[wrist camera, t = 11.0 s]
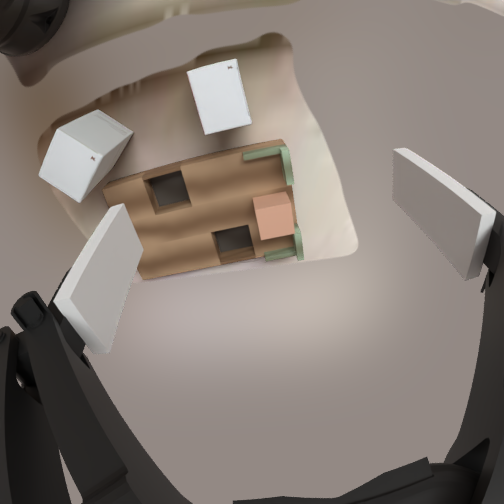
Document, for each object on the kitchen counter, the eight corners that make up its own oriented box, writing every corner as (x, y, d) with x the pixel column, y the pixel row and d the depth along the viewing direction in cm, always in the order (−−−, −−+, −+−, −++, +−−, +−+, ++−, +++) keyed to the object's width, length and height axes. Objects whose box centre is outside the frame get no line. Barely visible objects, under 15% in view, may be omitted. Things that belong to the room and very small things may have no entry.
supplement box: (97, 107, 37) (57, 125, 27) (135, 132, 40) (104, 157, 30) (76, 146, 40) (36, 175, 30) (112, 170, 43) (79, 205, 33)
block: (252, 197, 45) (254, 209, 42) (285, 191, 45) (290, 202, 41) (258, 226, 48) (261, 240, 44) (290, 220, 47) (295, 233, 44)
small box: (195, 69, 36) (184, 70, 28) (234, 59, 36) (236, 57, 27) (209, 120, 41) (203, 136, 32) (247, 111, 40) (252, 124, 32)
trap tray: (108, 182, 44) (94, 198, 39) (281, 138, 43) (289, 149, 38) (146, 269, 55) (139, 291, 50) (296, 239, 53) (304, 259, 48)
